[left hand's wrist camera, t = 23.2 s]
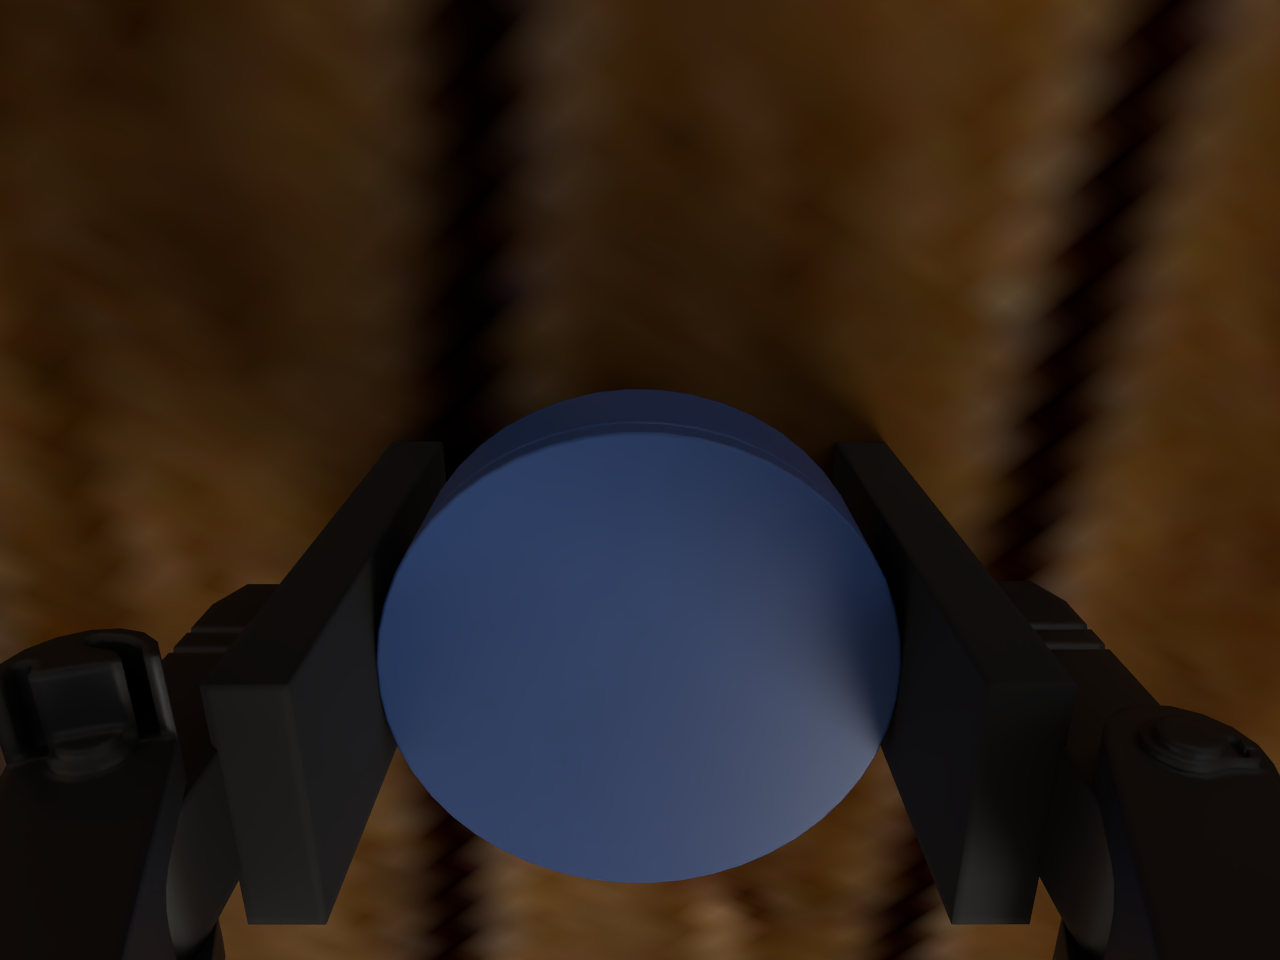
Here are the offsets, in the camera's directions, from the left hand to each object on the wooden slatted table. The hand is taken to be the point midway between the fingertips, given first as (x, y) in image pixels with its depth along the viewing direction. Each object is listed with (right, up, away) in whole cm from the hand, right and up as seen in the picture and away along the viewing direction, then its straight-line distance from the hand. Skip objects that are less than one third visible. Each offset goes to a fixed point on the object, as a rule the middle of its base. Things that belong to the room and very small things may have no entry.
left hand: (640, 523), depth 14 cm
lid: (0, -2, -4) cm, 4 cm away
